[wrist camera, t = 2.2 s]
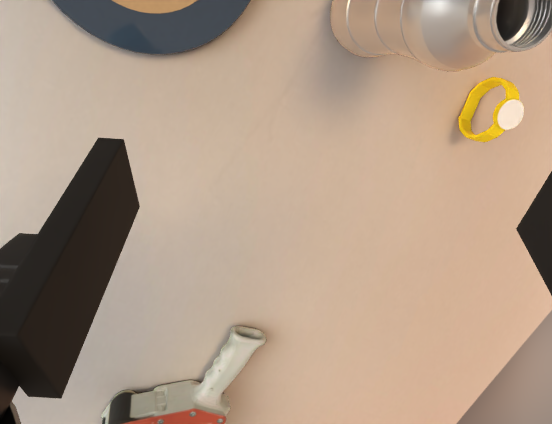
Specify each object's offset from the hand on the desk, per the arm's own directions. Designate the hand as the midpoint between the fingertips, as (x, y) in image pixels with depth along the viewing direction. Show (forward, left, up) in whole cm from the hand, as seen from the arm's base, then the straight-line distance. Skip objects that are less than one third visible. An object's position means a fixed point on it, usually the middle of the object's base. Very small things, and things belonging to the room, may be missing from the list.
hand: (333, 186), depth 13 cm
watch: (+13, +21, -27) cm, 36 cm away
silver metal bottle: (0, +13, -27) cm, 30 cm away
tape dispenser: (+29, -21, -27) cm, 45 cm away
